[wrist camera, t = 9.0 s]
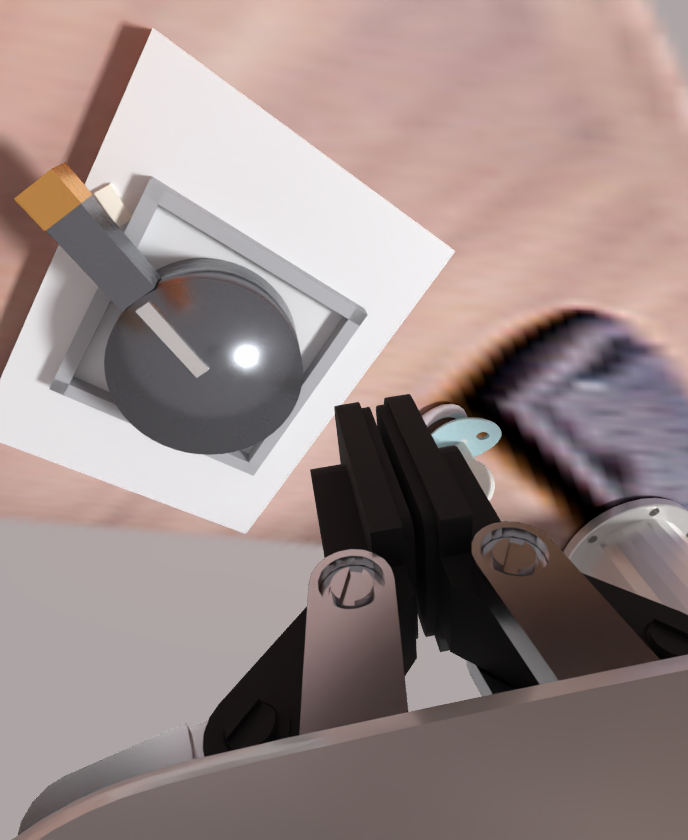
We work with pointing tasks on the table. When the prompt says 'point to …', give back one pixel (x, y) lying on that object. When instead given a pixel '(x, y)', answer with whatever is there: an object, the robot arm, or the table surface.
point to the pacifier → (466, 439)
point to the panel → (227, 240)
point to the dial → (179, 330)
